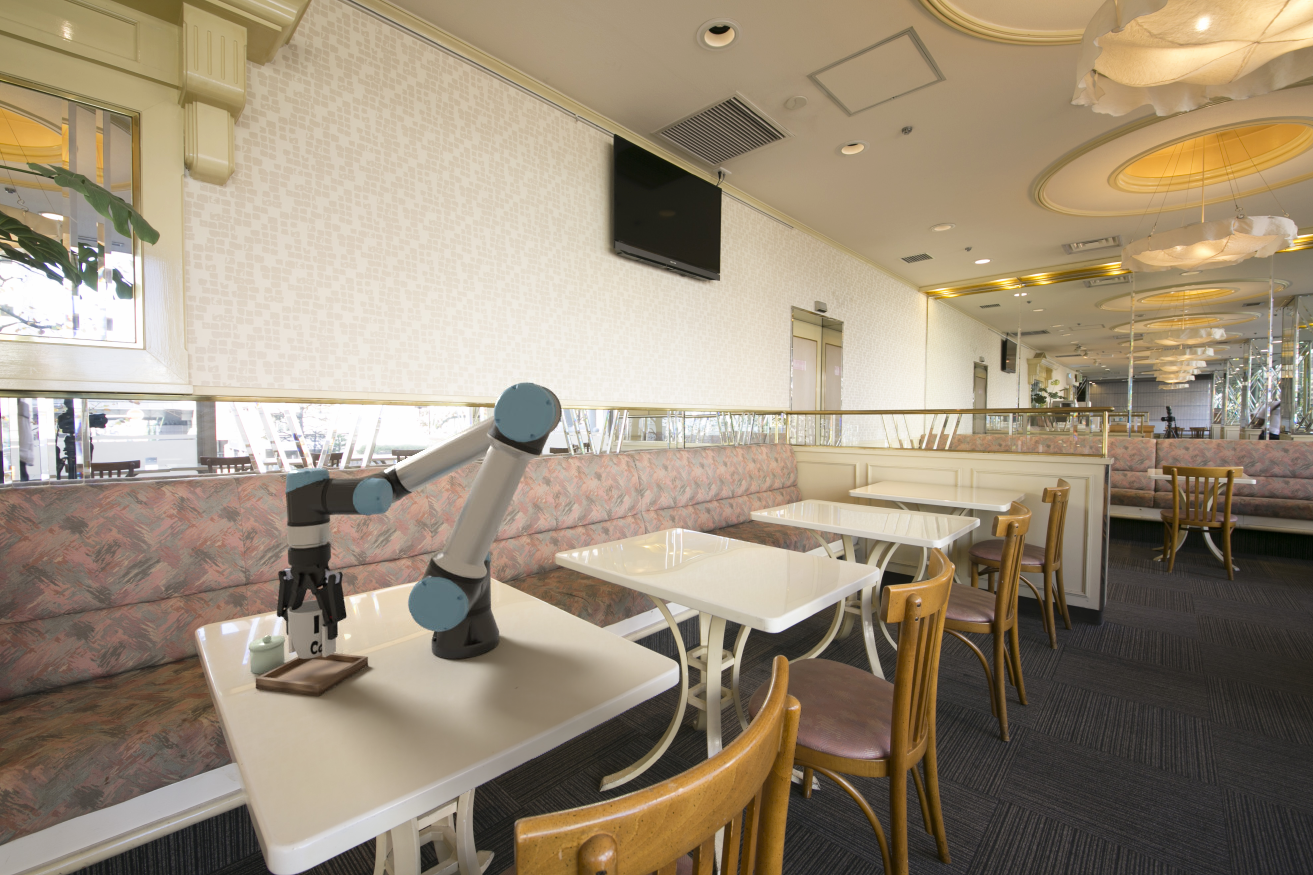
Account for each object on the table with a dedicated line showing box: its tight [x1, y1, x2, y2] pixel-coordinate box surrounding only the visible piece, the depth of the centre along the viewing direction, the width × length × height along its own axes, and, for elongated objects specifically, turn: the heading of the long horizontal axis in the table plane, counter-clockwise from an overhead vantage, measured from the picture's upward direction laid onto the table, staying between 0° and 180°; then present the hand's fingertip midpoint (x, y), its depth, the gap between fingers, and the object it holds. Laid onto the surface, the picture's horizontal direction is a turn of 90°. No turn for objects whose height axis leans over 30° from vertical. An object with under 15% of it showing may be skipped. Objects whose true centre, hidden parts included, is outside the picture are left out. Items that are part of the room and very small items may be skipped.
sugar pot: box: [248, 634, 286, 675], centre depth 118 cm, size 6×6×7 cm
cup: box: [287, 599, 332, 659], centre depth 113 cm, size 8×8×10 cm
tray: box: [255, 652, 369, 697], centre depth 113 cm, size 15×13×2 cm
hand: (312, 651), depth 113 cm, fingers closed on cup, 8 cm apart
